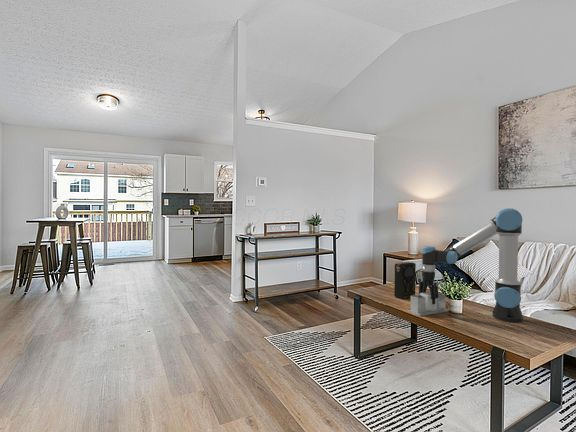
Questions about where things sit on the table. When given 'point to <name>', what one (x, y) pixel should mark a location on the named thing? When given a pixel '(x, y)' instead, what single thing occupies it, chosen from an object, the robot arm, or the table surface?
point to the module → (428, 300)
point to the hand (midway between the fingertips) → (428, 307)
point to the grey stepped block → (419, 305)
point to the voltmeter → (404, 280)
